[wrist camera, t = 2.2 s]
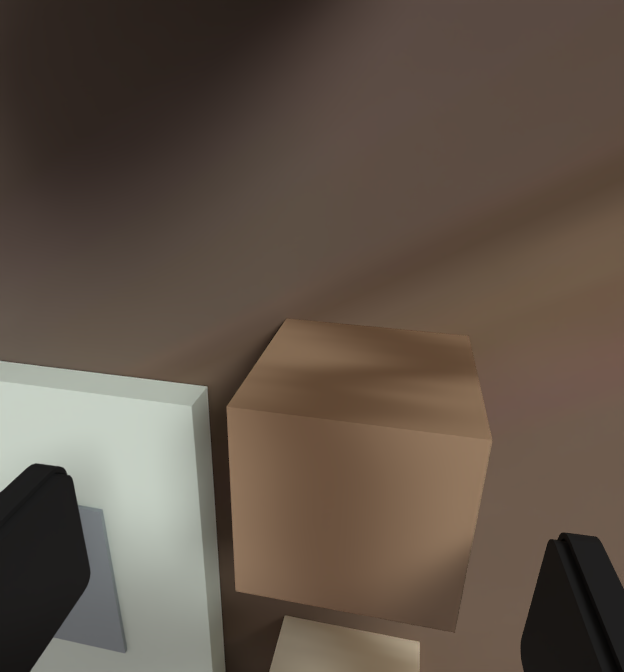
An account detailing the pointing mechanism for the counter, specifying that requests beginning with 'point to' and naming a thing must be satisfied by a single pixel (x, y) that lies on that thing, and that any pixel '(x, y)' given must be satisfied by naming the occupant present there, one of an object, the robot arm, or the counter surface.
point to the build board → (126, 514)
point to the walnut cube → (359, 470)
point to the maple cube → (340, 649)
